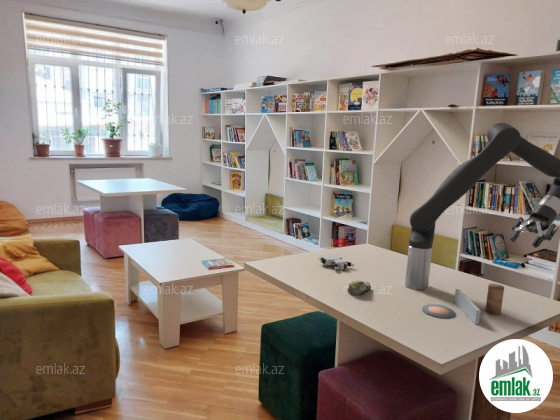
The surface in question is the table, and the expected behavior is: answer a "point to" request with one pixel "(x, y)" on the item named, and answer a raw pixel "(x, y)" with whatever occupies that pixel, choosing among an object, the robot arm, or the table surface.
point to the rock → (358, 287)
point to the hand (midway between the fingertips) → (522, 243)
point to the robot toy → (334, 261)
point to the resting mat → (438, 311)
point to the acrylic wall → (467, 306)
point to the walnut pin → (494, 299)
